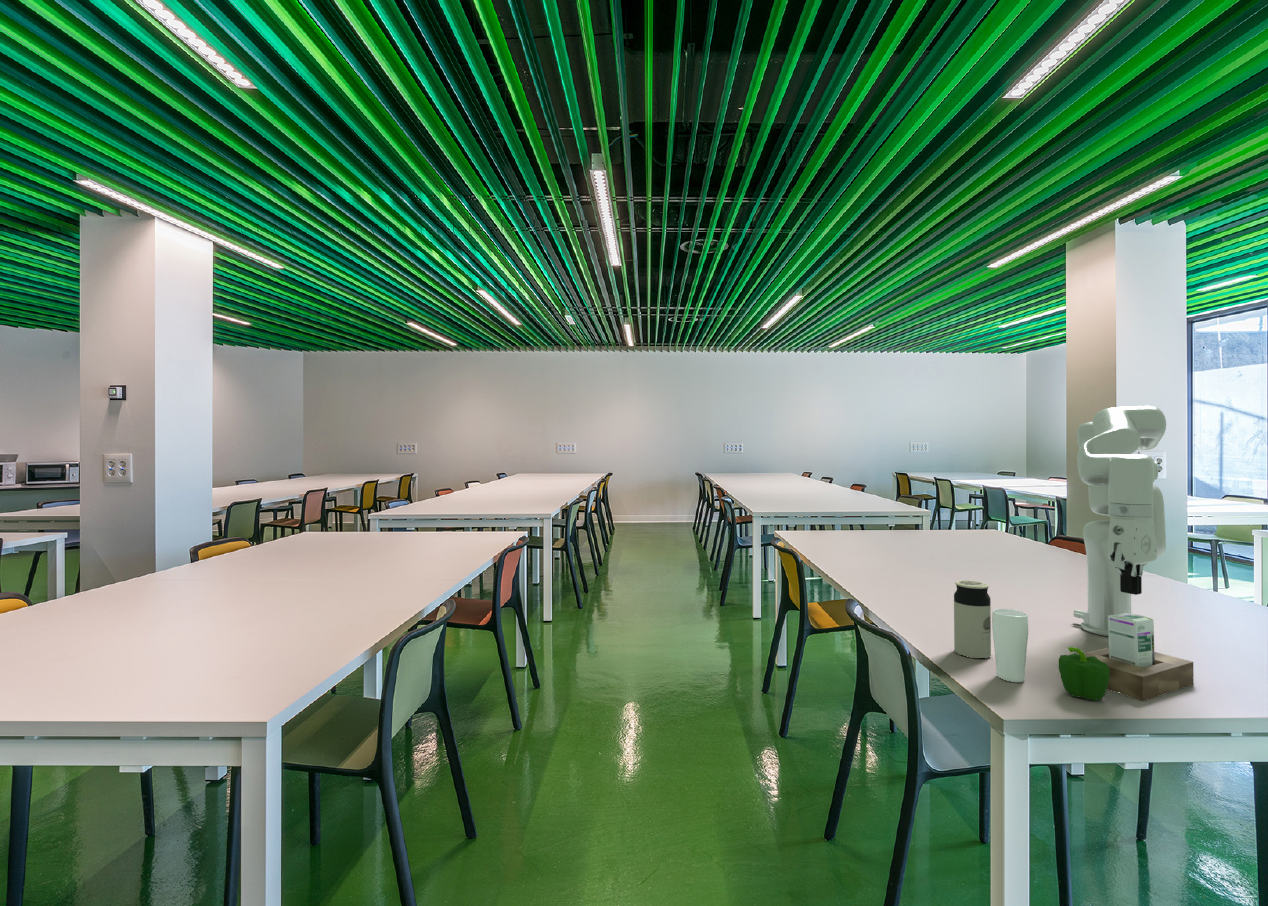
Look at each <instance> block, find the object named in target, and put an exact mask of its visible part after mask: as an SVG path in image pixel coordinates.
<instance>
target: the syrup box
mask: <svg viewBox="0 0 1268 906" xmlns="http://www.w3.org/2000/svg"><path fill="white" fill-rule="evenodd" d="M1154 624H1155V623H1154V619H1153V618H1152V617H1151V618H1150V617H1147V616H1143V615H1139V614H1134V613H1131V614H1129V613H1124V614H1116V615H1109V616H1108V636H1107V638H1108V647H1109V658H1110V659H1114V660H1118V661H1121V662H1125V663H1128V664H1132V665H1135V666H1139V667H1142V668H1146V667H1149V666H1153V665H1155V653H1154V652H1155V634H1154V633H1155V632H1154V631H1155V630H1154V628H1155V625H1154Z"/></svg>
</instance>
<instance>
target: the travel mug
mask: <svg viewBox="0 0 1268 906" xmlns="http://www.w3.org/2000/svg"><path fill="white" fill-rule="evenodd" d="M954 584H955V585H956V590H955V592H954V594H953V626H954V627H953V628H954V629H953V632H954V633H953V634H954V635H953V640H954V641H953V642H954V643H953V645H954V646H953V647H954V648H953V650H954V652H955V653H957V654H958V655H959V656H961V655H963V656H962V657H964V656H968V657H972V658H971V659H974V658H985V659H989V658H991V657H990V656H992V641H991V640H992V639H991V638H992V634H991V632H992V624H991V623H992V621H991V618H992V617H991V615H992V614H991V613H992V612H991V611H992V610H991V608H992V607H991V596H990V595H989V593H988V589H989V588H990V584H988V583H986V582H983V581H977V580H968V579H966V580H965V579H964V580H963V579H962V580H956V581H954ZM968 657H967V658H968Z"/></svg>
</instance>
